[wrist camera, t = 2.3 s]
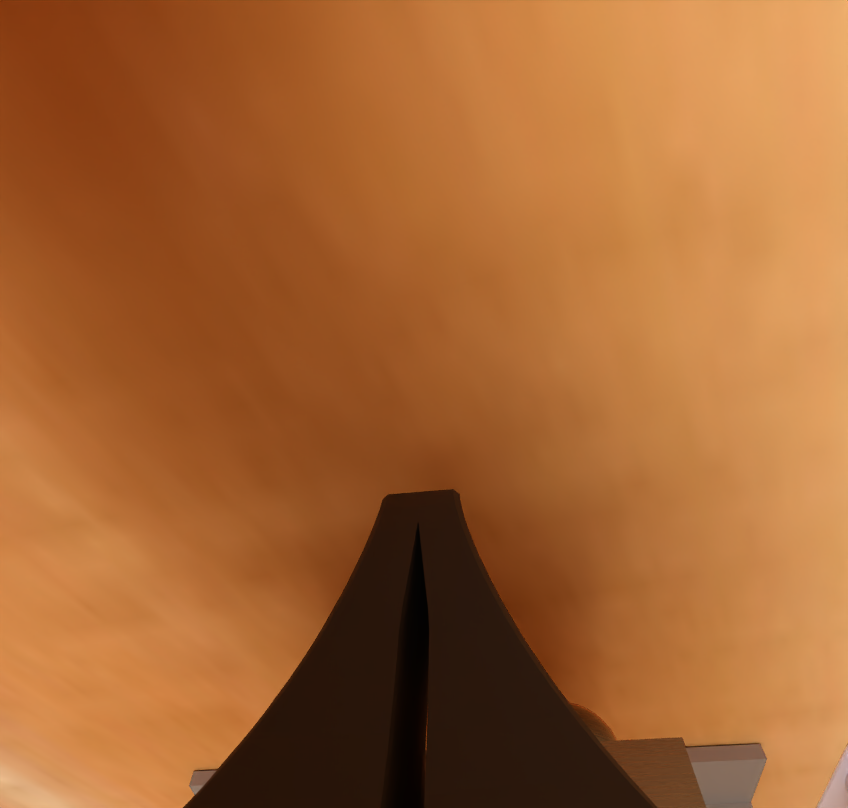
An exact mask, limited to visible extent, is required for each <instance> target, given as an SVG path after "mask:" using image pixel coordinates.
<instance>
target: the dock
mask: <svg viewBox="0 0 848 808" xmlns="http://www.w3.org/2000/svg"><path fill="white" fill-rule="evenodd" d="M686 750H687V753H688V756H689V759H690V762H691V764H692V767H693V770H694V773H695V776H696V779H697V782H698V785H699V788H700V791H701V793H702V796H703V799H704V802H705V805H706V808H753V806H752V804H751V800H752V798H753V795H754V792H755V790H756V787H757V784H758V782H759V779H760V776H761V774H762V771H763V768H764V766H765V763H766V760H767V758H766V756H765V753H764V751H763V749H762V747H761V744H749V745H728V746H708V747H687V748H686ZM216 771H217V770H211V771H194V772H193V775H192V778H191V782H190V785H189V786H190V788H191V790H192V791H193V793H194V795H196V793H197V792H198V791H199V790H200V789H201V788H202V787H203V786H204V785H205V783H206V782H207V781H208V780H209V779H210V778H211V776H212V775H213V774H214V773H215V772H216Z"/></svg>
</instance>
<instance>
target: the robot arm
mask: <svg viewBox="0 0 848 808" xmlns="http://www.w3.org/2000/svg"><path fill="white" fill-rule="evenodd" d="M427 710H428V723H427ZM426 726H427V751H426V777H425V747H426ZM183 808H658V807H657V806H656V805H655V804H654V803H653V802H652V801H651V800H650V799H649V797H648V796H647V795H646V794H645V793H644V792H643V791H642V790H641V789H640V788H639V786H638V785H637V784H636V783H635V782H634V781H633V780H632V779H631V778H630V777H629V775H628V774H627V773H626V772H625V771H624V770H623V768H622V767H621V766H620V765H619V764H618V763H617V761H616V760H615V759H614V758H613V757H612V756H611V754H610V753H609V752H608V751H607V750H606V749H605V747H604V746H603V745H602V744H601V743H600V741H599V740H598V739H597V738H596V736H595V735H594V734H593V733H592V731H591V730H590V729H589V728H588V726H587V725H586V724H585V722H584V721H583V720H582V719H581V717H580V716H579V715H578V714H577V712H576V711H575V710H574V708H573V707H572V706H571V705H570V703H569V702H568V701H567V700H566V698H565V697H564V696H563V694H562V693H561V692H560V690H559V689H558V688H557V686H556V685H555V683H554V682H553V681H552V679H551V678H550V676H549V675H548V673H547V672H546V671H545V669H544V668H543V666H542V665H541V664H540V662H539V661H538V659H537V657H536V656H535V654H534V653H533V651H532V650H531V648H530V647H529V645H528V644H527V642H526V641H525V639H524V638H523V636H522V634H521V633H520V631H519V630H518V628H517V626H516V625H515V623H514V621H513V620H512V618H511V616H510V614H509V613H508V611H507V609H506V607H505V606H504V604H503V602H502V600H501V599H500V597H499V595H498V593H497V591H496V589H495V587H494V585H493V583H492V582H491V579H490V577H489V575H488V573H487V571H486V569H485V567H484V565H483V563H482V561H481V559H480V557H479V554H478V552H477V550H476V547H475V545H474V543H473V540H472V537H471V535H470V532H469V530H468V527H467V524H466V521H465V518H464V514H463V511H462V507H461V502H460V495H459V493H458V492H456V491H455V490H453V489H451V490H439V491H426V492H414V493H402V494H389V495H387V496H386V497H385V498H384V499H383V500H382V503H381V507H380V510H379V513H378V516H377V518H376V521H375V524H374V526H373V529H372V531H371V534H370V536H369V538H368V541H367V543H366V545H365V548H364V550H363V552H362V554H361V556H360V558H359V560H358V563H357V565H356V567H355V569H354V571H353V573H352V575H351V577H350V579H349V581H348V583H347V585H346V587H345V589H344V591H343V593H342V594H341V596H340V598H339V600H338V601H337V603H336V605H335V607H334V609H333V610H332V612H331V614H330V616H329V617H328V619H327V621H326V623H325V625H324V626H323V628H322V630H321V631H320V633H319V635H318V636H317V638H316V639H315V641H314V643H313V644H312V646H311V647H310V649H309V650H308V652H307V654H306V655H305V657H304V658H303V660H302V661H301V663H300V664H299V666H298V667H297V669H296V670H295V671H294V673H293V674H292V676H291V677H290V679H289V680H288V682H287V683H286V684H285V686H284V687H283V688H282V690H281V691H280V692H279V694H278V695H277V696H276V698H275V699H274V701H273V702H272V703H271V705H270V706H269V707H268V709H267V710H266V711H265V713H264V714H263V715H262V717H261V718H260V719H259V720H258V722H257V723H256V724H255V726H254V727H253V728H252V729H251V731H250V732H249V733H248V734H247V736H246V737H245V738H244V739H243V740H242V741H241V743H240V744H239V745H238V746H237V747H236V748H235V750H234V751H233V752H232V753H231V754H230V755H229V757H228V758H227V759H226V760H225V761H224V762H223V764H222V765H221V766H220V767H219V768H218V769H217V771H216V772H215V773H214V774H213V775H212V776H211V778H210V779H209V780H208V781H207V782H206V783H205V785H204V786H203V787H202V788H201V789H200V790H199V791H198V792H197V793H196V795H195V796H194V797H193V798H192V799H191V800H190V801H189V802H188V803H187V804H186V805H185V806H184V807H183ZM816 808H848V744H847V746H846V748H845V750H844V752H843V754H842V756H841V758H840V760H839V762H838V764H837V766H836V768H835V770H834V772H833V774H832V776H831V778H830V780H829V782H828V784H827V786H826V788H825V790H824V792H823V794H822V796H821V798H820V800H819V802H818V804H817V806H816Z"/></svg>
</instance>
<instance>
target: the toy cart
mask: <svg viewBox="0 0 848 808" xmlns="http://www.w3.org/2000/svg"><path fill="white" fill-rule="evenodd" d="M570 705H571V706H572V707H573V708H574V710H575V711H576V712H577V714H578V715H579V716H580V717H581V719H582V720H583V721H584V722H585V724H586V725H587V726H588V728H589V729H590V730H591V731H592V733H593V734H594V735H595V736H596V738H597V739H598V740H599V741H600V743H601V744H602V745H603V746H604V747H605V749H606V750H607V751H608V752H609V753H610V754H611V756H612V757H613V758H614V759H615V760H616V761H617V763H618V764H619V765H620V766H621V767H622V768H623V770H624V771H625V772H626V773H627V774H628V775H629V777H630V778H631V779H632V780H633V781H634V782H635V783H636V784H637V785H638V786H639V788H640V789H641V790H642V791H643V792H644V793H645V794H646V795H647V796H648V797H649V799H650V800H651V801H652V802H653V803H654V804H655V805H656V806H657V807H658V808H706V805H705V802H704V799H703V796H702V793H701V791H700V788H699V785H698V782H697V779H696V776H695V773H694V770H693V767H692V764H691V762H690V759H689V756H688V753H687V750H686V747H685V744H684V741H683V738H662V739H641V740H621V741H617V739H616V737H615V735H614V734H613V732H612V731H611V729H610V728H609V727H608V726H607V725H606V723H605V722H604V721H603V720H602V719H601V718H600V717H598V716H597V715H596V714H595V713H593V712H592V711H590V710H588V709H586V708H584V707H582V706H580V705H577V704H573V703H570ZM426 751H427V750H425V777H426Z"/></svg>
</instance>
